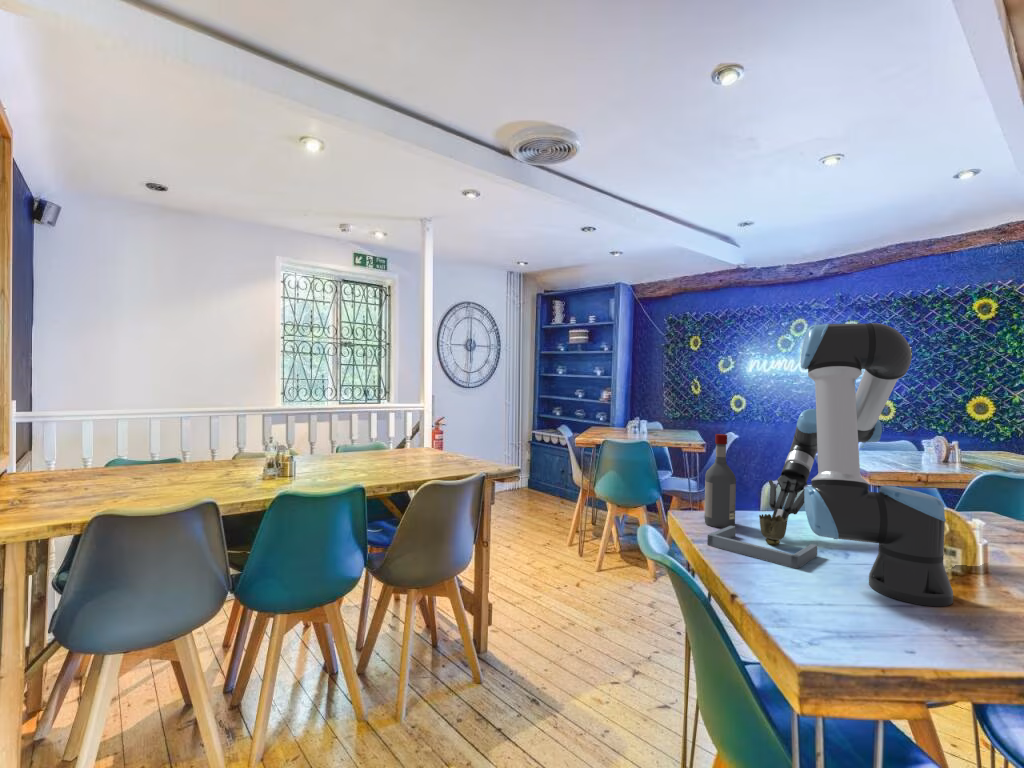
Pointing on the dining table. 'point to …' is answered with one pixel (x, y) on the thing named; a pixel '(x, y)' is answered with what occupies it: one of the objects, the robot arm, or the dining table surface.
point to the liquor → (720, 489)
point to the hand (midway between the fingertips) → (775, 529)
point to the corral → (760, 549)
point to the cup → (773, 528)
